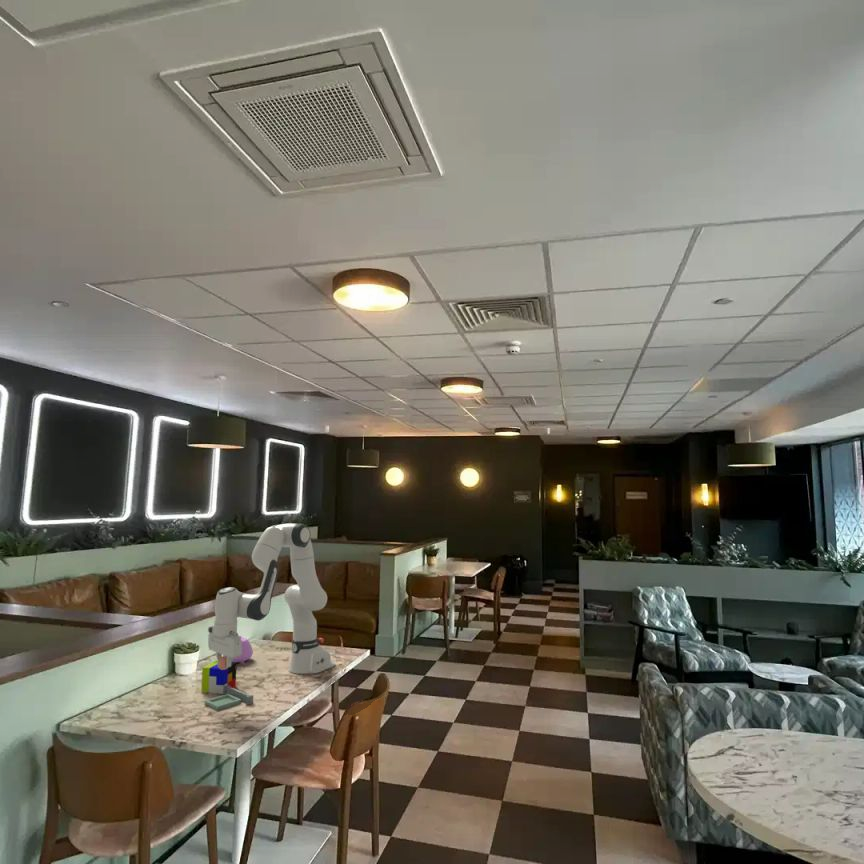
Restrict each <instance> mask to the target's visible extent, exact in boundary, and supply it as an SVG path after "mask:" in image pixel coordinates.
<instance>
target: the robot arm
mask: <svg viewBox="0 0 864 864" xmlns="http://www.w3.org/2000/svg"><path fill="white" fill-rule="evenodd" d="M311 535H312V534H311V530H310V528H309V527H308V525H306V524H304V523H293V522H292V523H291V522H289V523H288V522H287V523H281V524H279V523H278V524H274V525H271V526H270V527H267V528H266V529H265V530H264V531H263V532H262V534H261V536H260V537H259V538H258V540H257V542H256V544H255V546H254V548H253V550H252V553H251V561H252V564H253V565H254V567H256V568H257V569H259V570H260V571H261V572H262V573H263V578H262V580H261V585H260V588H259V591H258V592H257V593H255V594H254V593H244V592H241V591H239V590H238V589H237V588H236V587H231V586H229V587H224V588H221V589H219V590H218V591H217V594H216V597H215V601H214V603H215V604H214V614H215V618H214V621H213V623H214V624H213V625H211V626H208V628H207V632H208V635H207V637H208V638H207V639H208V640H207V646H208V647H207V648H208V650H210V651H212V652H215V657H216V661H217V663H218V660H219V659H220V658H221V657H223V655H226V656H227V662H225V666H226V667H231V662H232V660H233V658H236V657H240V656H241V654H242V646H241V638H240V637H239V636H240V635H239V633H238V618H242V619H249V620H254V621H261V620H264V619H265V618H266V617H267V616H268V614H269V613H270V610H271V605H272V598H273V594H274V590H275V587H276V583H277V579H278V577H279V572H280V565H279V562H278V558H279V555H280V554H281V551H282V548H289V550H290V551H289V553H290V554H289V557H290V569H291V575H292V577H293V579H294V580H295V581H296V583H297V584H292V585H290V586H289V587H287V588H286V590H285V591H284V600H285V602H286V604H287V605H288V607H289V611H290V615H291V618H292V639H291V651H292V652H291V658H290V663H289V664H290V665H289V668H288V671H289V673H293V674H299V675H300V674H318V673H320V672H323V671H325V670H328V669H330V668H333V667H335V666H336V661H333V660H332V659H331V654H330V651H328V650H327V649H326V648H324V647H323V645H320V643H321V644H322V643H324V641H325V640H324V638H323V637H317V631H318V630H317V629H318V624H317V623H318V622H317V618H315V616H314V614H313V612H315V611H320V610H322V609H324V608H325V607H326V605H327V602H328V595H327V592H326V591H325V590H324V588H322V585H321V584H320V581H319V578H318V576H317V571H316V563H315V555H314V547H313V543H312V540H311Z"/></svg>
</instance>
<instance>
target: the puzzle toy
mask: <svg viewBox="0 0 864 864" xmlns="http://www.w3.org/2000/svg"><path fill="white" fill-rule="evenodd" d="M237 663H238V662H231V667H228V668H227V669H225V670H221V669H219V668H218V665H217V660H215V661H213V662H211V663H208V664H207V665H204V666H203V667H202V670H201V693H210V694H223V686H227V685H230V687H232V688H235V687H236V686H237ZM223 695H224V694H223Z"/></svg>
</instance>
